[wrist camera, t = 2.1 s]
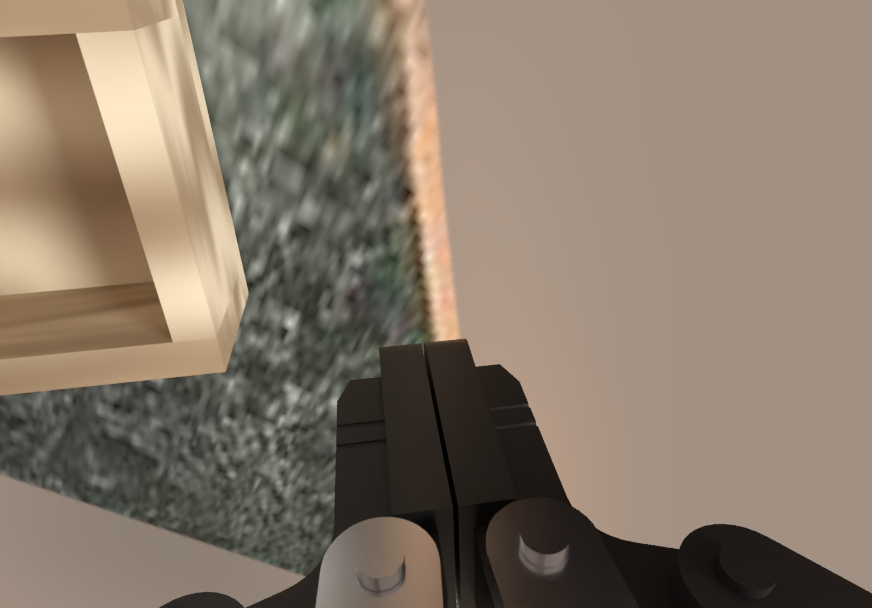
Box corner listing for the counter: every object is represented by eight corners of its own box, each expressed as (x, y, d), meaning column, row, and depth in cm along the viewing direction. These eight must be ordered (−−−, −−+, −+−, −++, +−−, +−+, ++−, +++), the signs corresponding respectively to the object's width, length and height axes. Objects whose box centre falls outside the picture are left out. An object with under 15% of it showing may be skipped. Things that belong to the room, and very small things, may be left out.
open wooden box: (-240, -18, 19) (-455, -10, 14) (174, -35, 20) (116, -34, 15) (-56, 321, 26) (-157, 411, 21) (248, 293, 27) (225, 371, 22)
